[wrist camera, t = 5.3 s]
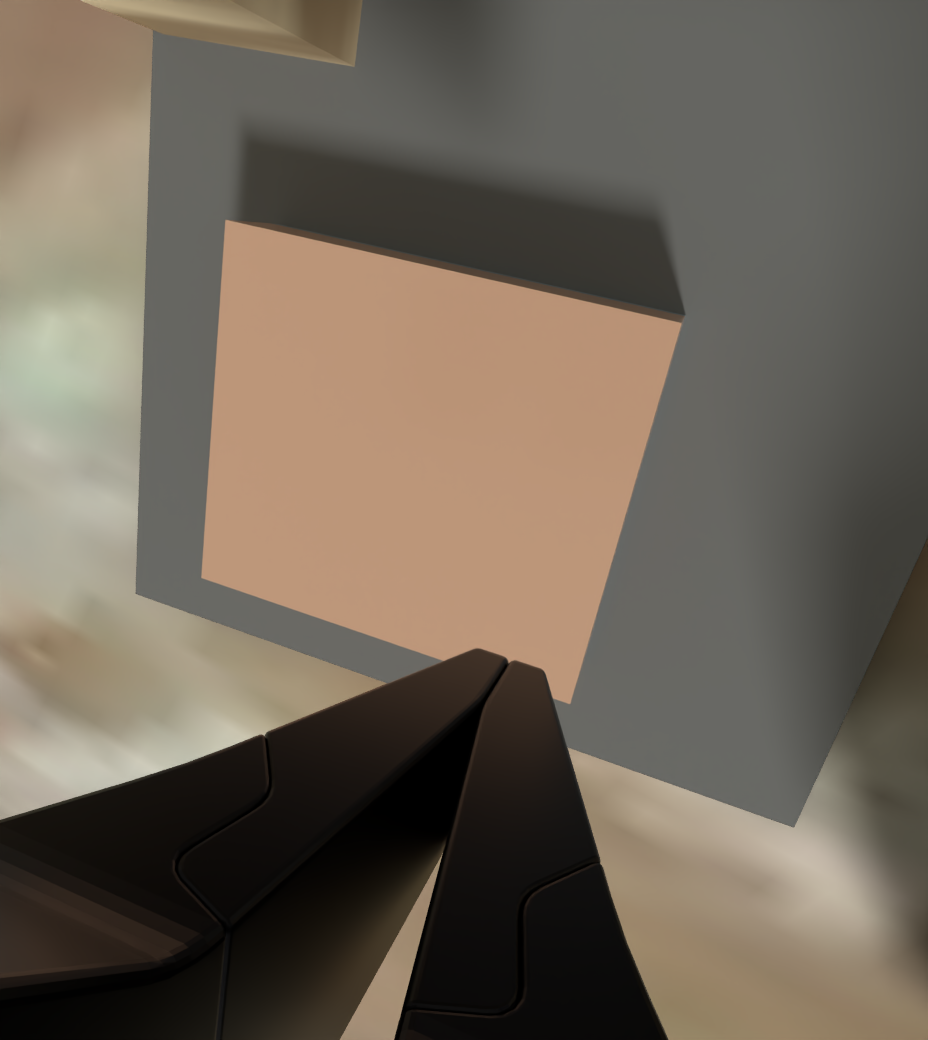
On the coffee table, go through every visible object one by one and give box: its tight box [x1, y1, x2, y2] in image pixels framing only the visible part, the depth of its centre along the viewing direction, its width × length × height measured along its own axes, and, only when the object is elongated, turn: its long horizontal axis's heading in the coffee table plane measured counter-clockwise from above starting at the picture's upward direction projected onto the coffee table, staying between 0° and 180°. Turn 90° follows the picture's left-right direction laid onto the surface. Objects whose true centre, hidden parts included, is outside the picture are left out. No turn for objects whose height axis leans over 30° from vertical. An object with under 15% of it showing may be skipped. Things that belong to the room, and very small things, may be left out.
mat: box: [136, 0, 928, 827], centre depth 16 cm, size 18×18×1 cm
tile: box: [201, 220, 686, 704], centre depth 16 cm, size 8×2×9 cm
